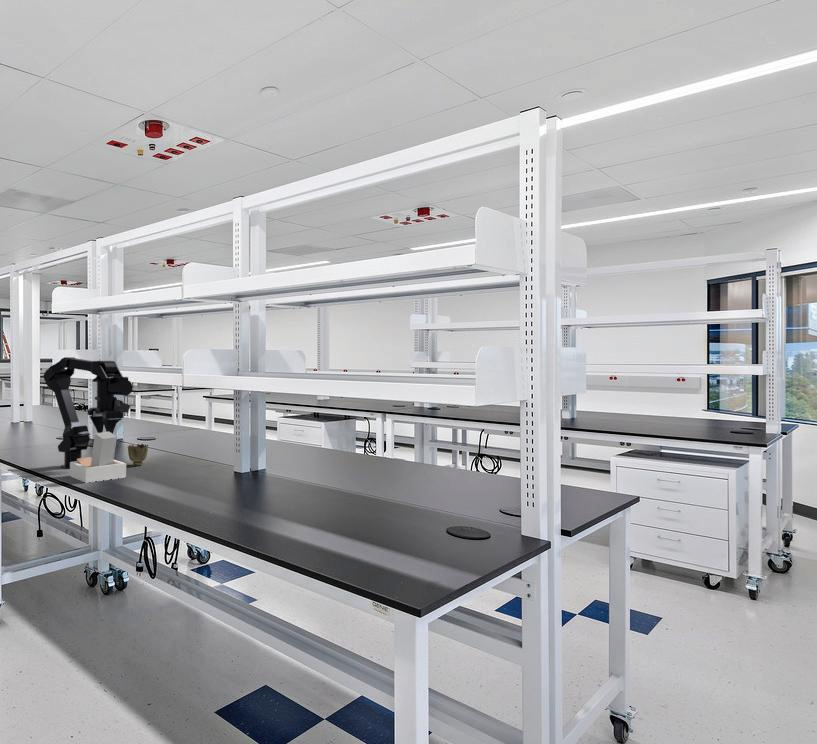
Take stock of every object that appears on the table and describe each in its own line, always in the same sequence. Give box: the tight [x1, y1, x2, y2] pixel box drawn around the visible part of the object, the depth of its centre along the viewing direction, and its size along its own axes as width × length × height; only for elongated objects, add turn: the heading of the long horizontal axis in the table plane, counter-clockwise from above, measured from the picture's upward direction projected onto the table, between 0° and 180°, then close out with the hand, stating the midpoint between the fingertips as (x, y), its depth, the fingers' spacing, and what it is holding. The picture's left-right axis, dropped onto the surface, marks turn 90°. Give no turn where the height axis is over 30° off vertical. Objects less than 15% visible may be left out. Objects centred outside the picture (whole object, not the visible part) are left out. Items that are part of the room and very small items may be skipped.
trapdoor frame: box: [69, 459, 127, 484], centre depth 204 cm, size 15×13×5 cm
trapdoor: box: [77, 456, 114, 467], centre depth 204 cm, size 12×10×4 cm
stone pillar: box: [91, 431, 118, 467], centre depth 200 cm, size 5×5×12 cm
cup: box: [127, 443, 149, 467], centre depth 226 cm, size 8×7×8 cm
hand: (105, 435), depth 215 cm, fingers open, 9 cm apart
